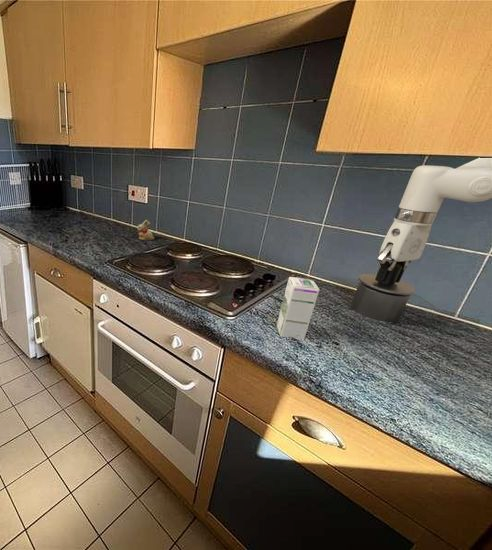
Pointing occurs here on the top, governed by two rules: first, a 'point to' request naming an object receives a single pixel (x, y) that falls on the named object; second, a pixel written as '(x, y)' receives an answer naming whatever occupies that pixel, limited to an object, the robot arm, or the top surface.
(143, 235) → the chocolate bunny
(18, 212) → the top surface
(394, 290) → the canister lid
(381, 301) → the canister
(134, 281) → the top surface
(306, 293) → the syrup box
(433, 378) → the top surface
